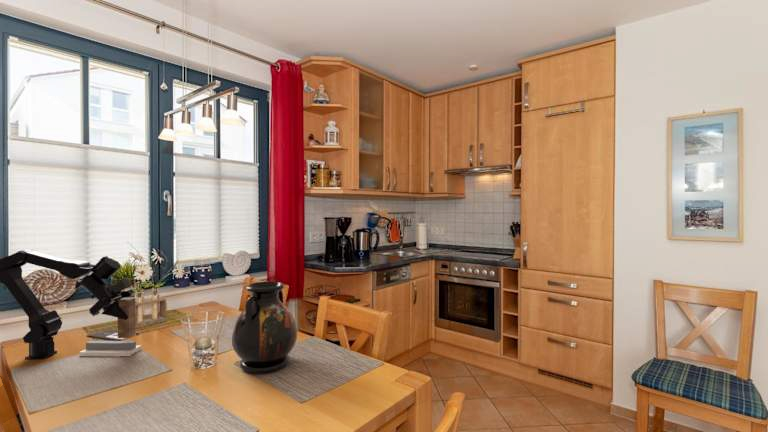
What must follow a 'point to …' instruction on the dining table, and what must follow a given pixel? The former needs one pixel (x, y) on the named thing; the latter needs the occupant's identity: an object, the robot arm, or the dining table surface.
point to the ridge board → (109, 352)
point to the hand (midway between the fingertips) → (130, 317)
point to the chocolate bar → (108, 335)
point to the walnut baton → (127, 326)
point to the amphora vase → (264, 330)
